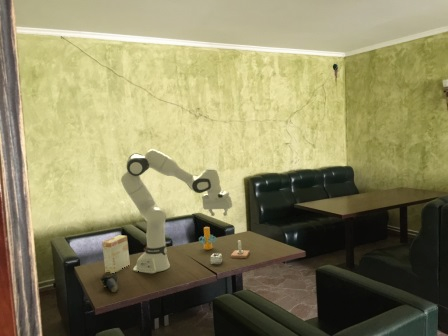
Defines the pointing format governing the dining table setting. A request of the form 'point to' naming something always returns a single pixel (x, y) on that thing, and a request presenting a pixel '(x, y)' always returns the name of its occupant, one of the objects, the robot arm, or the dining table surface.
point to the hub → (216, 258)
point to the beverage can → (110, 282)
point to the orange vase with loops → (207, 239)
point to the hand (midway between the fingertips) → (219, 215)
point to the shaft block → (240, 252)
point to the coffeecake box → (115, 253)
